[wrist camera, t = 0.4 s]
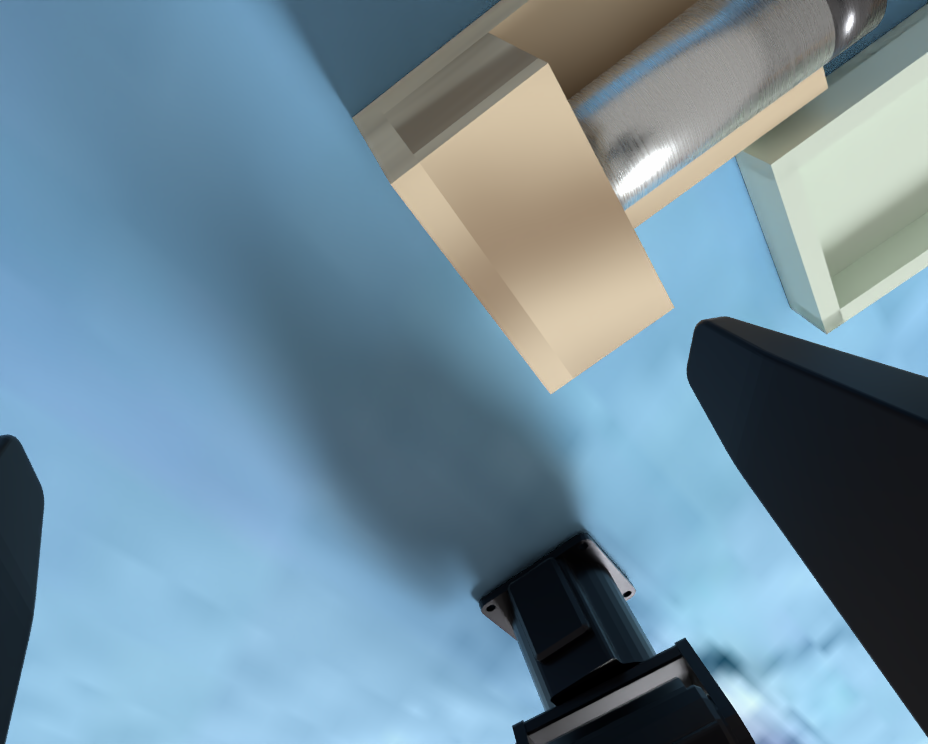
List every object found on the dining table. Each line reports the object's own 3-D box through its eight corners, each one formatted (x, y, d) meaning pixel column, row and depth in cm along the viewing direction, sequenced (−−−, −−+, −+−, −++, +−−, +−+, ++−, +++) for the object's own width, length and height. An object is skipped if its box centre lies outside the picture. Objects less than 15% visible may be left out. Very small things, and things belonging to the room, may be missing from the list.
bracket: (795, 77, 23) (937, 123, 19) (489, 301, 25) (550, 394, 20) (725, -178, 19) (892, -202, 14) (351, 118, 20) (390, 184, 16)
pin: (809, 25, 21) (896, 44, 18) (511, 245, 22) (551, 293, 19) (781, -89, 19) (874, -87, 16) (455, 160, 20) (491, 201, 17)
